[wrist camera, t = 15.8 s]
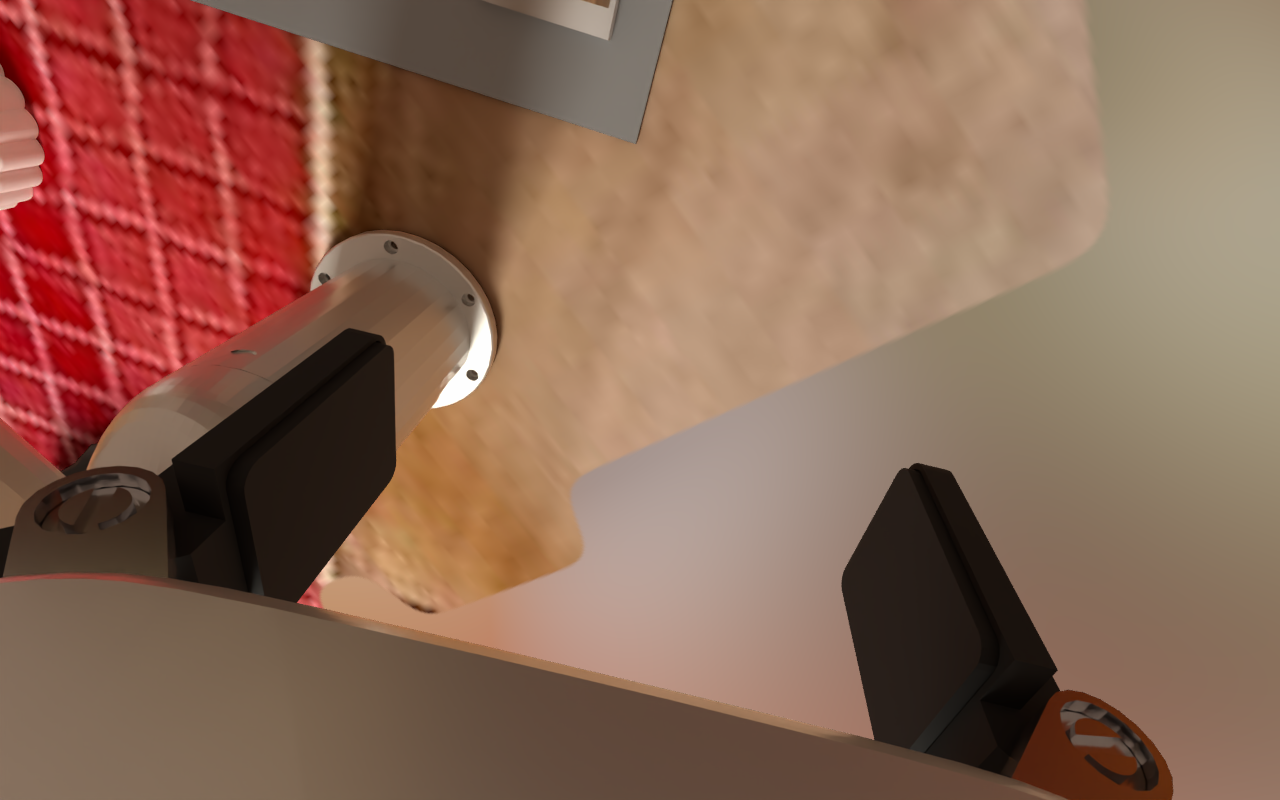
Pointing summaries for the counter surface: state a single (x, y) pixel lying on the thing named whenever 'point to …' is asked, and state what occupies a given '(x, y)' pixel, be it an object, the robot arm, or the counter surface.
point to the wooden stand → (570, 13)
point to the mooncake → (17, 147)
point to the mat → (493, 51)
